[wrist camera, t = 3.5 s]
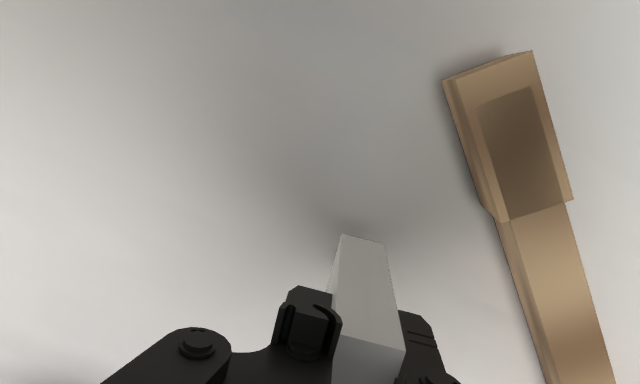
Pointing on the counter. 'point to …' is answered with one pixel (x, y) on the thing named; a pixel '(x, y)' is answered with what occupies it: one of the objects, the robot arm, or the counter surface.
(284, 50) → the counter surface
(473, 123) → the tong arm
